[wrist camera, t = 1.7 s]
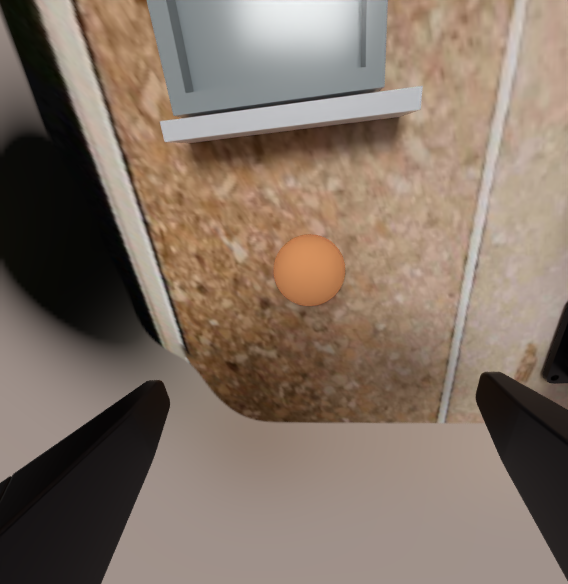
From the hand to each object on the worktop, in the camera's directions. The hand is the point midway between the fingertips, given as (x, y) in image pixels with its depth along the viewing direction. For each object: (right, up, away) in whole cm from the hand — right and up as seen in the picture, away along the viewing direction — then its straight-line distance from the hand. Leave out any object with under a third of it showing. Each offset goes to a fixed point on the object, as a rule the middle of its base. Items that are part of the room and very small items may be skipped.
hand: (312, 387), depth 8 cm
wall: (-1, +12, +7) cm, 13 cm away
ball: (+1, +5, +10) cm, 11 cm away
